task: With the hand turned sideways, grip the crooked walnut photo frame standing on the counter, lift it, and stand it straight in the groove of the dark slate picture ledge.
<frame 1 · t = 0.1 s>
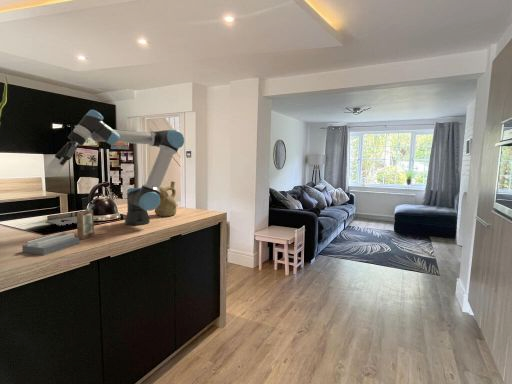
hand: (52, 169, 142), 36 cm above the countertop, tool tilted 35°, fingers open, 13 cm apart
play button award: (70, 222, 189), on the countertop
walnut photo frame: (86, 237, 153), on the countertop
ceramic vessel: (166, 215, 218), on the countertop
slate picture ledge: (52, 247, 135), on the countertop
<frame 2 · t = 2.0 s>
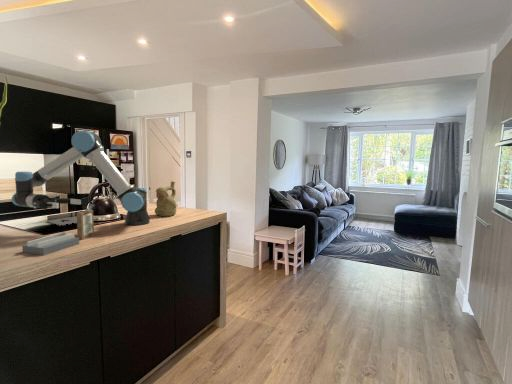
hand: (69, 203, 153), 17 cm above the countertop, tool horizontal, fingers open, 13 cm apart
nothing on the countertop moved.
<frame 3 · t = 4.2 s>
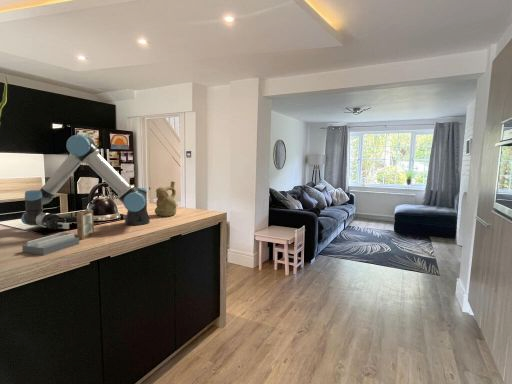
hand: (79, 223, 153), 7 cm above the countertop, tool horizontal, fingers open, 13 cm apart
nothing on the countertop moved.
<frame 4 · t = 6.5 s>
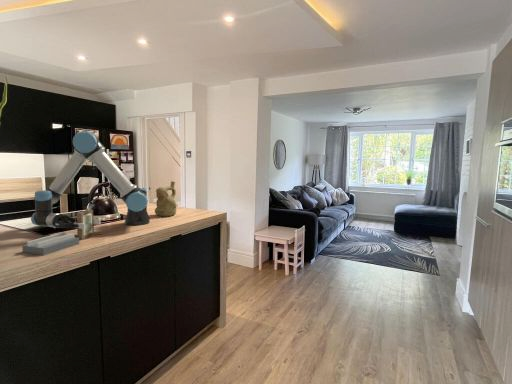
hand: (92, 224, 151), 8 cm above the countertop, tool horizontal, fingers closed on walnut photo frame, 9 cm apart
walnut photo frame: (86, 237, 153), on the countertop, touching gripper
everything else where it was.
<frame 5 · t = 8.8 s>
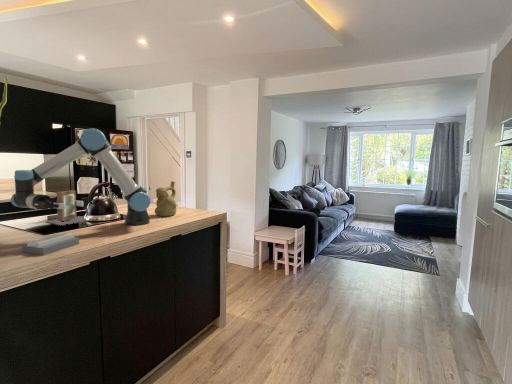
hand: (74, 205, 142), 19 cm above the countertop, tool horizontal, fingers closed on walnut photo frame, 9 cm apart
walnut photo frame: (67, 219, 144), point 11 cm above the countertop, touching gripper
everything else where it was.
when the fingers open (11 cm above the countertop, at t = 11.5 s): walnut photo frame stays where it is, resting on slate picture ledge.
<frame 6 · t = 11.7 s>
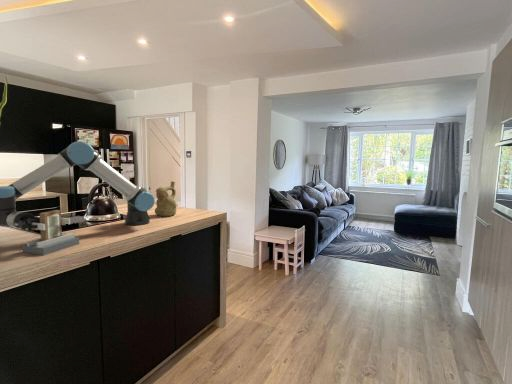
hand: (57, 224, 133), 11 cm above the countertop, tool horizontal, fingers open, 12 cm apart
walnut photo frame: (52, 241, 134), point 3 cm above the countertop, touching slate picture ledge
everything else where it was.
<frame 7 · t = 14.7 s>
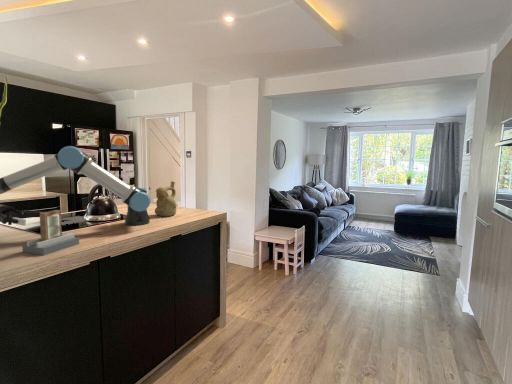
hand: (39, 219, 138), 12 cm above the countertop, tool horizontal, fingers open, 13 cm apart
nothing on the countertop moved.
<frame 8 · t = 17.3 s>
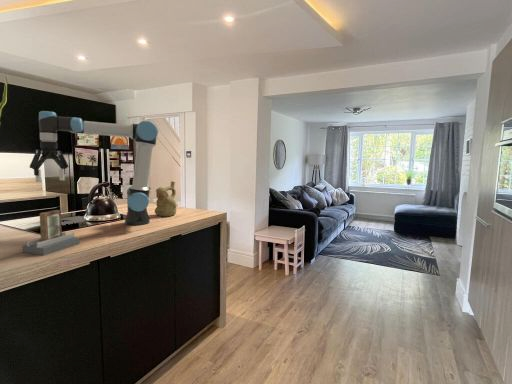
hand: (50, 181, 157), 29 cm above the countertop, tool pointing down, fingers open, 13 cm apart
nothing on the countertop moved.
at the end: walnut photo frame inside the target area on the slate picture ledge (0.1 cm from its centre), point 3.0 cm above the slate picture ledge's base; walnut photo frame tilted 0°; the gripper is holding nothing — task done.
